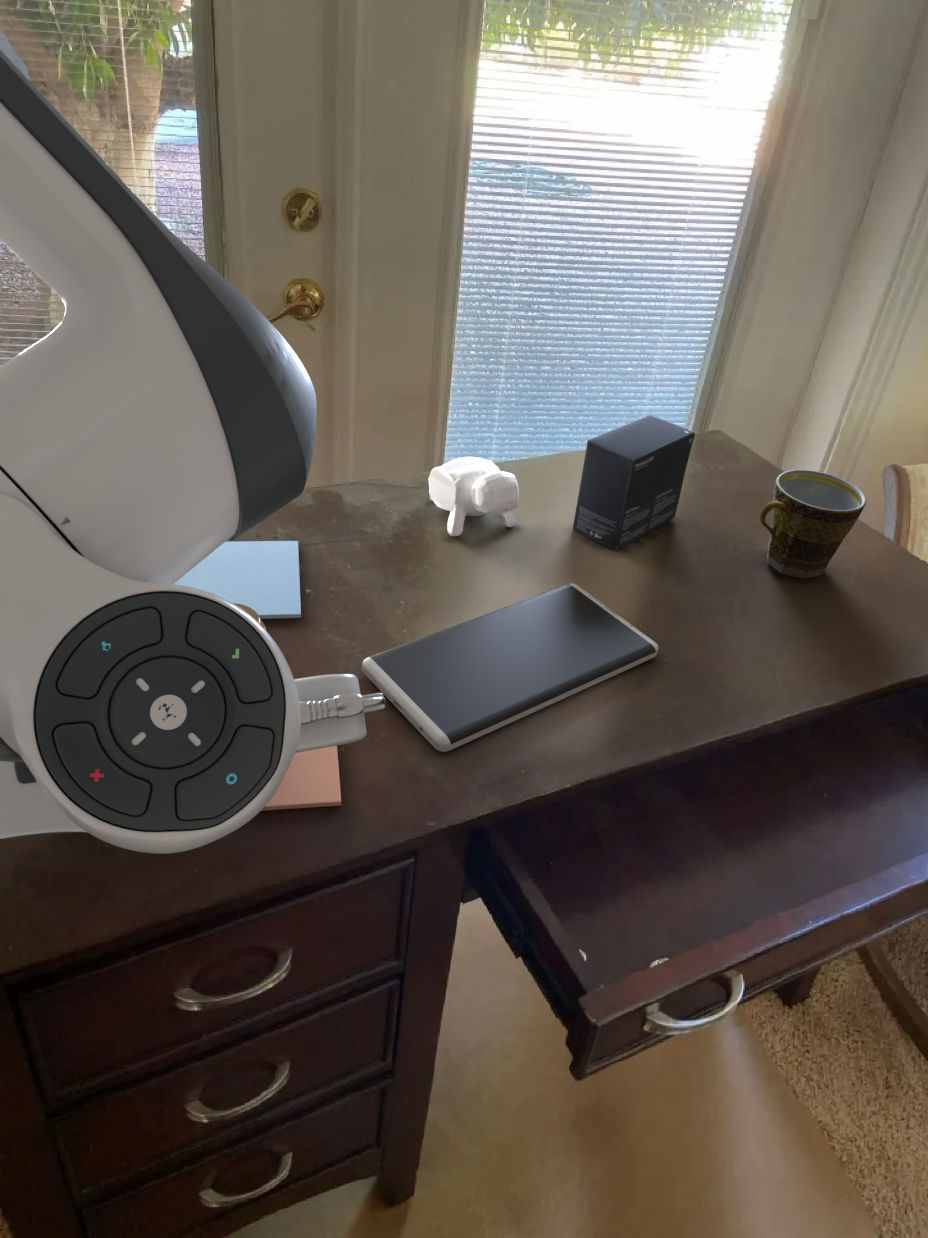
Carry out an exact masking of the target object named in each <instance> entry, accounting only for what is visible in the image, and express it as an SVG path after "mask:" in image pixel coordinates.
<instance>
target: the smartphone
mask: <svg viewBox="0 0 928 1238" xmlns="http://www.w3.org/2000/svg"><path fill="white" fill-rule="evenodd" d="M658 652H659V645H658V643H657V642H656V641H654V640H653V639H651V638H650V637H649V636H647V635H646V634H644V633H643V632H642V631H641V630H640V629H638V628H636V627H635V626H634V625H632V624H631V623H630V622H628V621H627V620H625V619H624V618H623V617H622V616H620V615H618V614H617V613H616V612H615V611H613V610H612V609H610V608H609V607H608V606H607V605H605V604H604V603H602V602H601V601H600V600H598V599H597V598H595V597H594V596H593V595H591V594H590V593H589V592H587V591H586V590H585V589H583V588H581V587H580V586H579V585H577V584H575V583H568V584H565V585H561V586H560V587H557V588H554V589H551V590H548V591H546V592H543V593H540V594H537V595H534V596H532V597H529V598H525V599H524V600H521V601H518V602H515V603H512V604H510V605H507V606H504V607H502V608H498V609H497V610H493V611H491V612H488V613H486V614H482V615H480V616H477V617H475V618H472V619H469V620H466V621H463V622H461V623H458V624H455V625H453V626H450V627H447V628H444V629H441V630H438V631H436V632H434V633H431V634H430V633H429V634H428V635H425V636H423V637H419V638H417V639H414V640H412V641H409V642H406V643H403V644H401V645H397V646H395V647H392V648H390V649H387V650H385V651H382V652H379V653H376V654H373V655H371V656H367V657H365V658H364V659H363V661H362V665H361V669H362V673H363V674H364V675H365V676H366V677H367V678H368V680H369V681H371V683H372V684H373V685H374V686H375V687H376V688H377V689H378V690H379V691H380V693H382V694H383V696H385V698H386V699H387V700H389V702H391V704H392V705H393V706H394V707H395V708H396V709H397V710H398V711H399V712H400V713H401V714H402V715H403V717H405V718H406V719H407V721H408V722H409V723H410V724H411V725H412V726H413V727H414V728H415V729H416V730H417V731H418V733H420V734H421V735H422V737H424V738H425V740H426V741H427V742H428V743H429V744H430V745H431V746H432V747H433V748H434V749H435V750H437V751H438V752H442V753H446V752H449V751H452V750H454V749H456V748H459V747H461V746H463V745H465V744H468V743H469V742H471V741H475V740H476V739H479V738H480V737H482V736H485V735H488V734H489V733H492V732H494V731H495V730H498V729H500V728H503V727H504V726H505V727H506V726H508V724H511V723H513V722H516V721H518V720H520V719H522V718H524V717H527V716H528V715H531V714H534V713H535V712H537V711H540V710H542V709H545V708H546V707H549V706H551V705H553V704H555V703H558V702H559V701H563V700H564V699H566V698H568V697H571V696H572V695H575V694H577V693H579V692H581V691H584V690H586V689H588V688H590V687H593V686H594V685H597V684H599V683H602V682H603V681H605V680H608V679H610V678H612V677H614V676H617V675H618V674H621V673H623V672H626V671H628V670H629V669H632V668H634V667H636V666H639V665H641V664H643V663H645V662H647V661H649V660H651V659H654V658H656V656H657V655H658Z"/></svg>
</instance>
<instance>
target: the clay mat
mask: <svg viewBox="0 0 928 1238" xmlns="http://www.w3.org/2000/svg"><path fill="white" fill-rule="evenodd" d="M338 755H339V754H338V746H332V747H326V748H321V749H315V750H310V751H304V752H299V753H295V755H294V757H293V760H292V762H291V764H290V767H289V769H288V771H287V773H286V775H285V777H284V779H283V781H282V783H281V785H280V786H279V788H278V789H277V791H276V792H275V794H274V795H273V797H272V798H271V800H270V801H269V802H268V803H267V804H266V805H265V807H264V808H263V809H262V810H261V811H260V812H263V811H264V812H265V811H278V810H279V811H280V810H295V809H296V810H297V809H308V808H310V809H311V808H323V807H338V806H342V793H341V791H342V790H341V778H340V767H339V756H338Z"/></svg>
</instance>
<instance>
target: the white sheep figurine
mask: <svg viewBox="0 0 928 1238" xmlns="http://www.w3.org/2000/svg"><path fill="white" fill-rule="evenodd" d="M427 480H428V488H429V489H428V494H429V501H432V502H433V503H434V504H435V505H436V507H437V508H440V509H442V510H445V511H448V512H449V515H448V518H447V525H446V530H447V533H448V534H449V536H451V537H458V536H460V535H461V534H462V533H463V532H464V522H465V520H466V517H467V516H468V517H480V516H481V517H482V516H484V515H487V514H489V515H493V516H498V518H499V519H498V520H499V521H500V522H501V524H502V525H504V527H508V528H512V527H515V525H516V519H515V516H514V514H513V513H512V511H513V510H516V509H517V508H518V506H519V500H520V488H519V484H518V478H517V477H516V476H515V474H514V473H512V472H508V471H504V470H503V471H502V470H500V468H499V466H498V465H496V464H495V462H493V460H492V459H485V458H483V457H476V456H462V457H458V458H457V457H456V458H455V459H452V460H450V461H448V462H446V463H444V464H442V465H440V466H435V467H433V468H432V469H431V471H430V473H429V476H428V478H427Z"/></svg>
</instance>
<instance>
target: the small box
mask: <svg viewBox="0 0 928 1238" xmlns="http://www.w3.org/2000/svg"><path fill="white" fill-rule="evenodd" d="M695 436H696V431H693V430H690V429H688V428H686V427H684V426H680V425H678V424H676V423H673V422H671V421H668V420H666V419H662V418H660V417H658V416H655V415H652V414H648V415H646V416H644V417H642V418H640V419H636V420H634V421H632V422H629V423H626V424H624V425H623V426H619V427H617V428H615V429H612V430H610V431H607V432H605V433H602V434H599V435H598V436H595V437H593V438H590V439H588V440H587V441H586V447H585V448H586V449H585V454H584V459H583V466H582V470H581V477H580V484H579V490H578V494H577V495H578V496H577V502H576V507H575V514H574V518H573V525H572V530H574V531H576V533H579V534H581V535H583V536H585V537H587V538H589V539H591V540H593V541H594V542H597V543H599V544H601V545H602V546H604V547H606V548H608V549H611V550H612V551H614V552H616V551H619V550H620V549H622V548H624V547H625V546H628V545H629V544H632V543H633V542H634V541H636V540H638V539H640V538H641V537H643V536H645V535H647V534H648V533H651V532H652V531H654V530H656V529H657V528H659V527H661V526H663V525H664V524H666V523H668V522H670V521H672V520H673V519H675V518H676V513H677V510H678V505H679V502H680V497H681V492H682V487H683V483H684V480H685V474H686V472H687V471H686V470H687V467H688V463H689V458H690V455H691V451H692V447H693V443H694V440H695Z"/></svg>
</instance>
